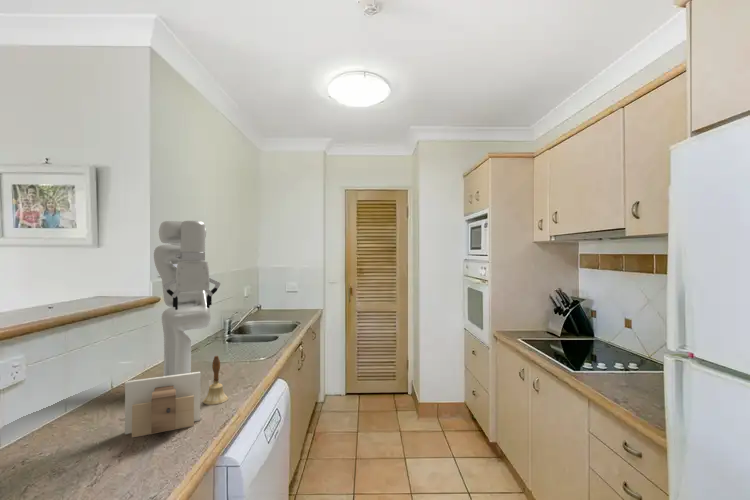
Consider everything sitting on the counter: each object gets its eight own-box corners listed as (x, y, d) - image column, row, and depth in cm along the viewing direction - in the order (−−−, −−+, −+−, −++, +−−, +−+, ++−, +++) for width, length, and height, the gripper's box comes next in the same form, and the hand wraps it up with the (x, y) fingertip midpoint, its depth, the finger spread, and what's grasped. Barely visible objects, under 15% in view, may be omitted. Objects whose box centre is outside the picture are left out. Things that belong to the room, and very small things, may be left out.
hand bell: (233, 397, 140) (233, 354, 140) (216, 406, 132) (217, 360, 132) (214, 395, 142) (215, 352, 142) (197, 403, 134) (198, 357, 135)
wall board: (125, 432, 112) (125, 381, 113) (199, 418, 122) (200, 371, 122) (123, 439, 108) (124, 386, 108) (200, 424, 118) (201, 375, 118)
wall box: (152, 421, 114) (152, 388, 114) (175, 417, 117) (175, 385, 116) (151, 435, 106) (151, 399, 106) (175, 430, 109) (175, 396, 109)
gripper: (163, 257, 121) (162, 311, 121) (221, 257, 129) (221, 308, 129) (163, 257, 128) (163, 308, 128) (219, 257, 136) (218, 305, 136)
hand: (192, 308), depth 128 cm, fingers open, 9 cm apart
